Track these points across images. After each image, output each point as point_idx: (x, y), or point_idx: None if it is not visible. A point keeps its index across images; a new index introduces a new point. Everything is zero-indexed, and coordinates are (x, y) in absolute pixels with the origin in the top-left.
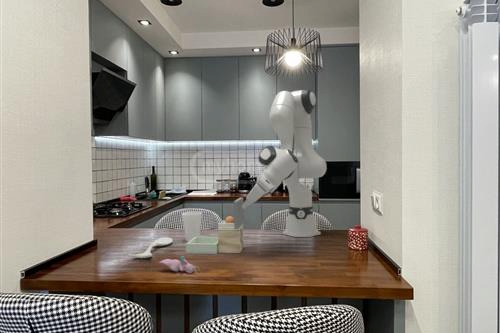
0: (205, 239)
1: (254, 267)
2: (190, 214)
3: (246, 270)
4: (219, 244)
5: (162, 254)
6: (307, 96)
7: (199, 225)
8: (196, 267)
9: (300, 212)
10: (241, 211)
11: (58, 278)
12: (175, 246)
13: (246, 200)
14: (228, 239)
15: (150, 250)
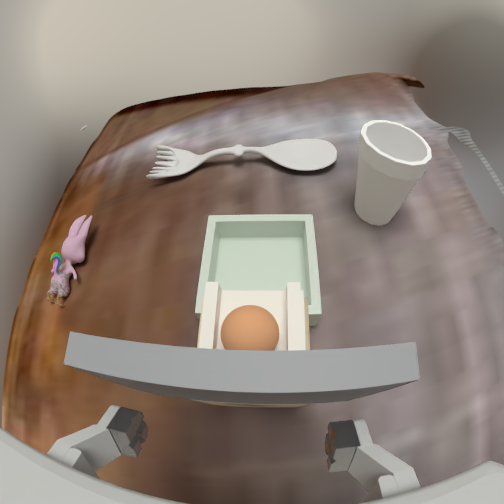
0: (306, 252)
1: None
2: (412, 141)
3: (56, 417)
4: None
5: (209, 186)
6: None
7: (386, 194)
8: (58, 297)
9: None
10: (273, 400)
11: (107, 130)
12: (291, 188)
13: (57, 445)
14: None
15: (205, 160)
